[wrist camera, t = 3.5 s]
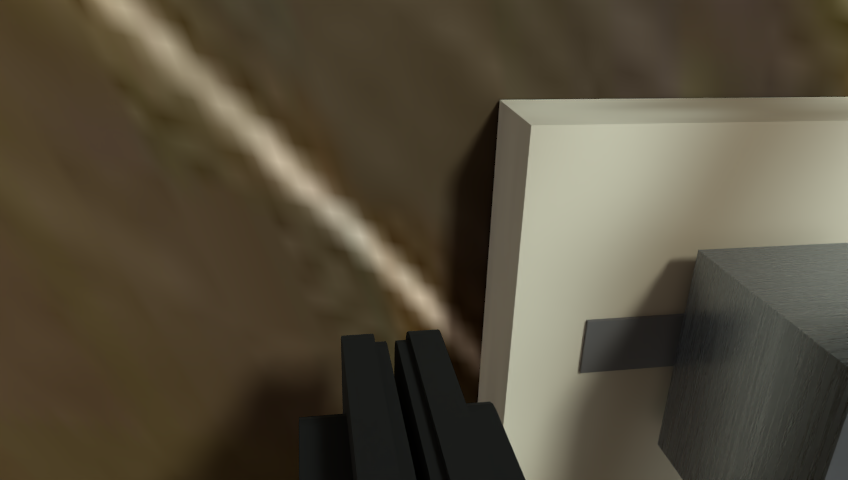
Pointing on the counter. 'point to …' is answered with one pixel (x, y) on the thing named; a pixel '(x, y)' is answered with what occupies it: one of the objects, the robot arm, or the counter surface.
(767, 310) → the fader tab
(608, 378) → the fader console
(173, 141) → the counter surface
